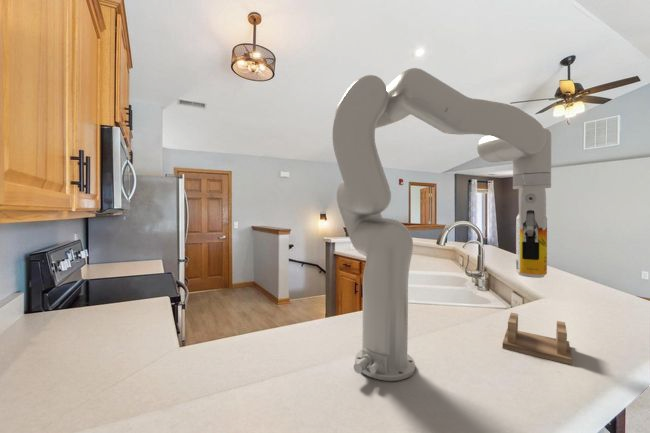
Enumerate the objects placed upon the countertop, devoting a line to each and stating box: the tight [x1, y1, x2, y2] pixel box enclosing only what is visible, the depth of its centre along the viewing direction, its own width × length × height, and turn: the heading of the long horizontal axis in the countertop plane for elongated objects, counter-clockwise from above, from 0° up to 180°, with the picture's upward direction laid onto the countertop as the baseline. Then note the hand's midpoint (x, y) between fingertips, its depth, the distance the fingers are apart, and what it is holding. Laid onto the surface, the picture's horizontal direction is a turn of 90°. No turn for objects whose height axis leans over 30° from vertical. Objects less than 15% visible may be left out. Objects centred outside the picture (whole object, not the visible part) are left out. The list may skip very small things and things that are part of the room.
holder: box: [501, 312, 573, 366], centre depth 72 cm, size 11×13×6 cm
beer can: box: [515, 212, 548, 279], centre depth 71 cm, size 6×6×15 cm
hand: (531, 256), depth 71 cm, fingers closed on beer can, 6 cm apart
